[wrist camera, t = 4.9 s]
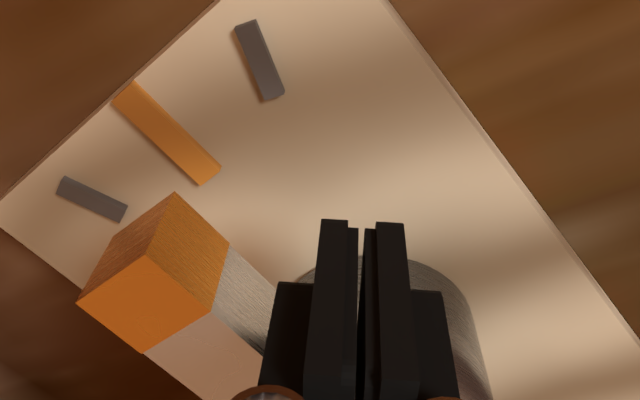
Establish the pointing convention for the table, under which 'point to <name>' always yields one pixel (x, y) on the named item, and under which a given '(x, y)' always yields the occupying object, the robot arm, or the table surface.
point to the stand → (331, 180)
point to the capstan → (223, 304)
